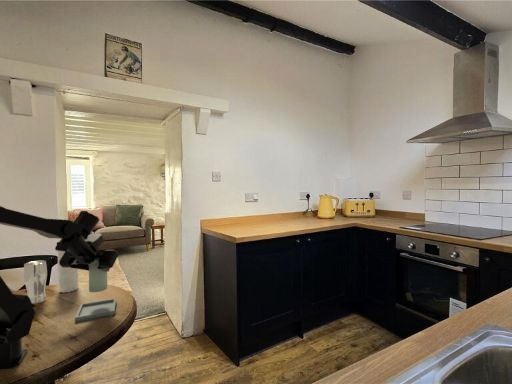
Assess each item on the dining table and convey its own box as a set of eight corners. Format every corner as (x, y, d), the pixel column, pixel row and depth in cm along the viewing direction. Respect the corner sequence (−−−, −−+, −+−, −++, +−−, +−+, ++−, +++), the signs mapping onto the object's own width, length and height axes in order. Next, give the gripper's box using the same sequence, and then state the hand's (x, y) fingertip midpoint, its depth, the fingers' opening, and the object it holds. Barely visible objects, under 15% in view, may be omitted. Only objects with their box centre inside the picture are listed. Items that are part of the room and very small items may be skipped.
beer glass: (35, 305, 102) (33, 265, 102) (19, 304, 103) (18, 264, 103) (52, 298, 109) (51, 260, 108) (37, 296, 110) (36, 259, 110)
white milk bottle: (80, 286, 122) (78, 229, 121) (76, 291, 115) (74, 232, 114) (61, 288, 119) (59, 230, 118) (56, 294, 112) (54, 233, 112)
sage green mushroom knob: (108, 290, 99) (107, 257, 98) (86, 294, 96) (85, 259, 96) (109, 284, 105) (109, 253, 105) (88, 287, 102) (88, 255, 102)
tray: (114, 315, 94) (114, 310, 94) (75, 322, 89) (74, 317, 89) (116, 302, 104) (116, 298, 104) (81, 307, 100) (81, 303, 100)
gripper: (115, 227, 95) (132, 251, 106) (65, 226, 97) (87, 250, 108) (100, 255, 87) (121, 278, 99) (46, 254, 89) (72, 277, 100)
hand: (100, 270), depth 102 cm, fingers closed on sage green mushroom knob, 6 cm apart
